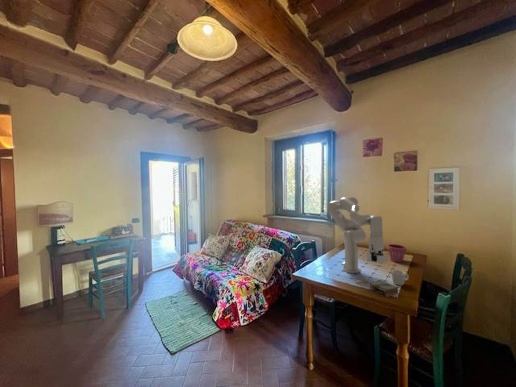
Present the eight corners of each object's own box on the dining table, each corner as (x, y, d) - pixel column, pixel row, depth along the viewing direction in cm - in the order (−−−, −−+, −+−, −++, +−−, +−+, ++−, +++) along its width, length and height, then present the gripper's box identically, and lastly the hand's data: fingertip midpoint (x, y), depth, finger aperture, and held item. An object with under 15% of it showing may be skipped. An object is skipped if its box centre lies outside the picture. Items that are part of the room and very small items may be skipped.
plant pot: (410, 261, 193) (410, 247, 193) (398, 264, 188) (398, 249, 188) (394, 257, 207) (394, 243, 206) (383, 259, 202) (383, 245, 201)
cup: (404, 280, 156) (404, 269, 156) (412, 286, 148) (412, 274, 148) (389, 281, 156) (389, 270, 156) (396, 286, 148) (396, 274, 148)
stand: (369, 289, 145) (369, 282, 144) (379, 285, 149) (379, 279, 149) (388, 297, 134) (388, 290, 134) (398, 293, 139) (398, 286, 139)
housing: (367, 259, 156) (367, 252, 156) (372, 258, 159) (372, 251, 159) (381, 263, 147) (381, 256, 147) (386, 262, 150) (386, 254, 150)
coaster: (353, 282, 156) (354, 281, 156) (360, 279, 159) (360, 279, 159) (362, 285, 150) (362, 285, 150) (369, 283, 153) (369, 283, 153)
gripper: (378, 231, 160) (379, 256, 161) (363, 234, 152) (363, 261, 152) (389, 233, 154) (389, 259, 154) (373, 236, 145) (374, 264, 146)
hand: (376, 260), depth 153 cm, fingers closed on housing, 6 cm apart
